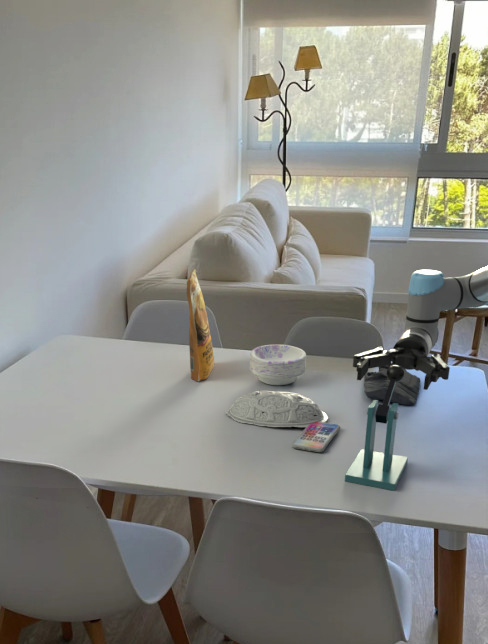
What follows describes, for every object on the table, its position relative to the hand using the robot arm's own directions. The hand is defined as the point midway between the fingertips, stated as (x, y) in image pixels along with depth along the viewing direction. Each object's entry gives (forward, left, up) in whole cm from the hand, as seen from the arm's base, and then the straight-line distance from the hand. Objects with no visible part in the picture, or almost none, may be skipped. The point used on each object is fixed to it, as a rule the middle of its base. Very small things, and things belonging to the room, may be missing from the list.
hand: (392, 378), depth 143 cm
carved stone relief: (+32, -3, -18) cm, 37 cm away
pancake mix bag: (+68, -13, -18) cm, 71 cm away
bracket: (-2, +6, -18) cm, 19 cm away
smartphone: (+17, +1, -18) cm, 25 cm away
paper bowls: (+48, -23, -18) cm, 56 cm away
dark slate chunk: (+21, -37, -18) cm, 46 cm away
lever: (0, +1, -4) cm, 4 cm away
